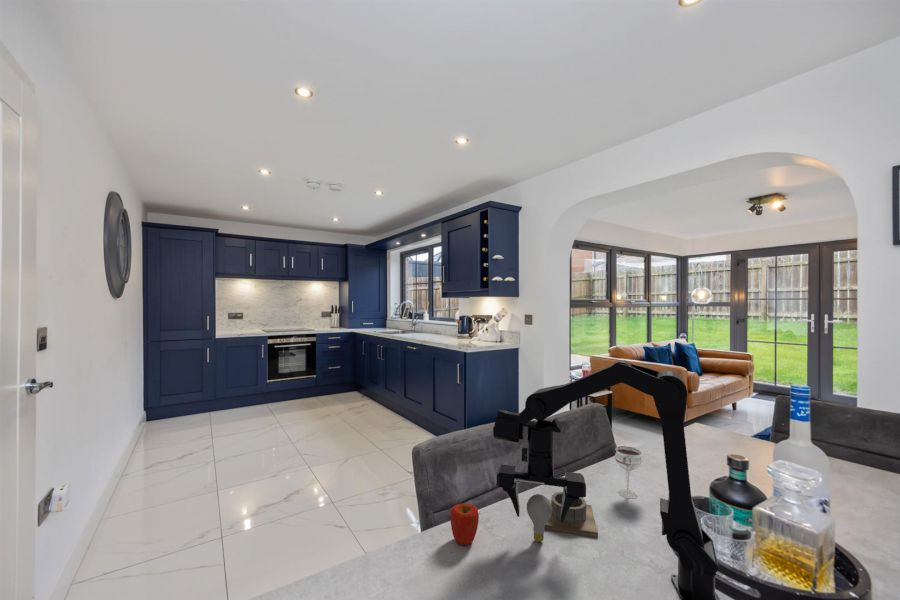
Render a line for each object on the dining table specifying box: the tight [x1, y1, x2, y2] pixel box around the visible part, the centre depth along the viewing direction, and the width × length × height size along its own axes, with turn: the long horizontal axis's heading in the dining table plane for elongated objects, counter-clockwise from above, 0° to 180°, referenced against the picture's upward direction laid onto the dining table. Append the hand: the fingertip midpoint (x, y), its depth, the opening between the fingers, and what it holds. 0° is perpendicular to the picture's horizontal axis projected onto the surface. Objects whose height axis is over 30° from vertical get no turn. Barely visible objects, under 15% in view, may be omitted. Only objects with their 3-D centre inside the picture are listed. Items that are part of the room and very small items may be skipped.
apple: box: [449, 502, 480, 546], centre depth 83 cm, size 6×6×8 cm
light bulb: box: [526, 494, 552, 543], centre depth 84 cm, size 6×6×10 cm
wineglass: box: [614, 445, 643, 499], centre depth 105 cm, size 7×7×12 cm
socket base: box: [544, 491, 599, 538], centre depth 93 cm, size 12×12×4 cm
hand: (539, 518), depth 83 cm, fingers open, 9 cm apart
